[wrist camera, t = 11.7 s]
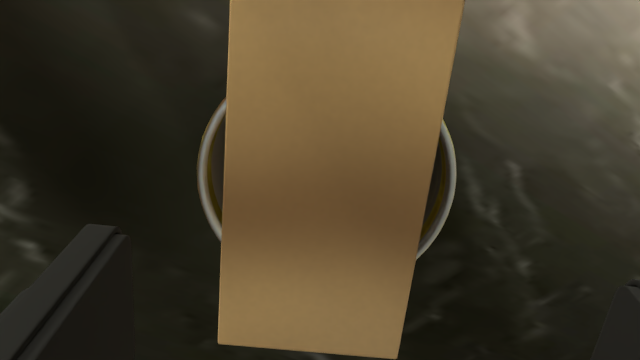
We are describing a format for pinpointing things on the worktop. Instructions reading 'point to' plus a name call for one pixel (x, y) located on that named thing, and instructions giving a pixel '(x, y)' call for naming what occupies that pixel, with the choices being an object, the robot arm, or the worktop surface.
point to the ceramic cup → (213, 178)
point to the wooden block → (329, 168)
